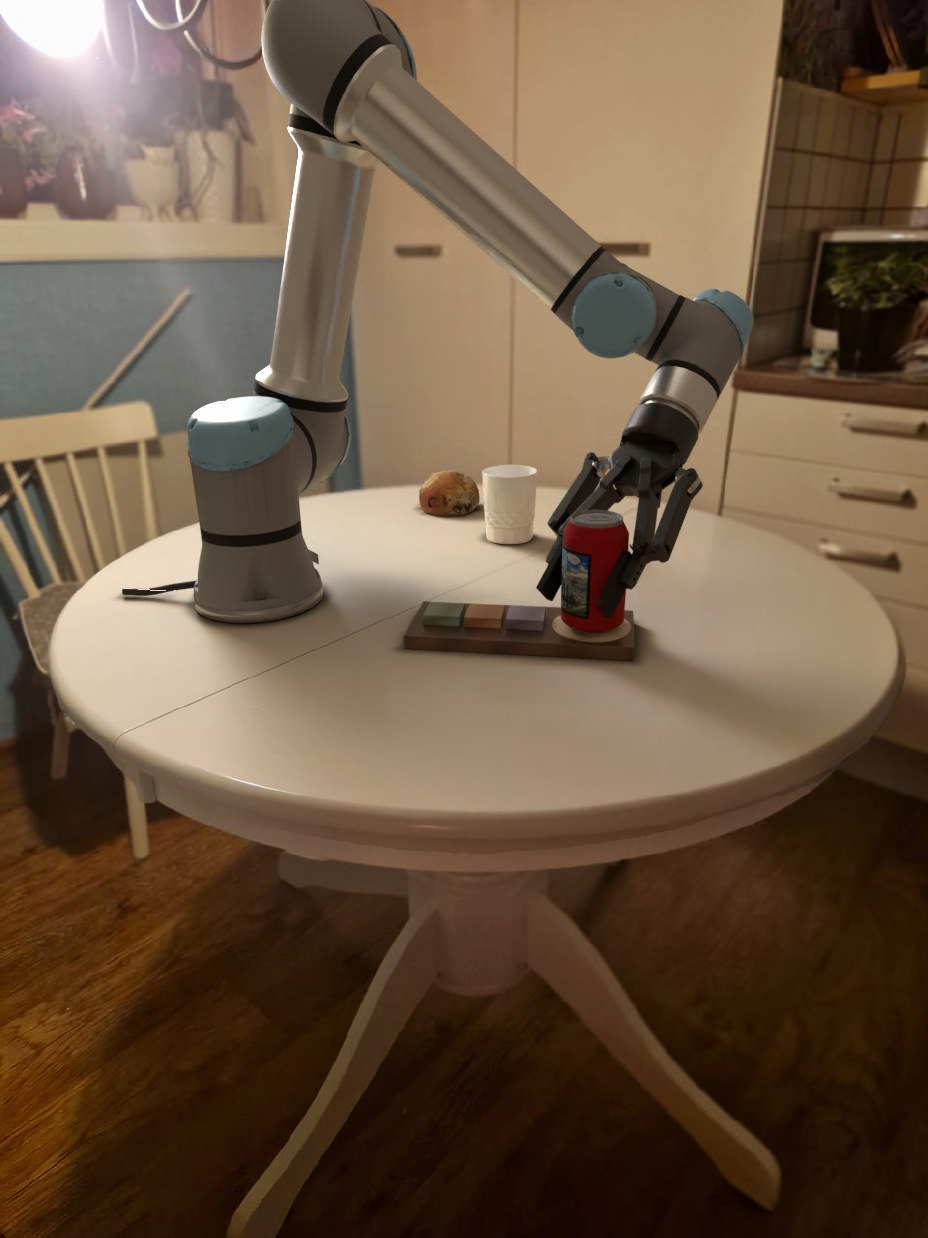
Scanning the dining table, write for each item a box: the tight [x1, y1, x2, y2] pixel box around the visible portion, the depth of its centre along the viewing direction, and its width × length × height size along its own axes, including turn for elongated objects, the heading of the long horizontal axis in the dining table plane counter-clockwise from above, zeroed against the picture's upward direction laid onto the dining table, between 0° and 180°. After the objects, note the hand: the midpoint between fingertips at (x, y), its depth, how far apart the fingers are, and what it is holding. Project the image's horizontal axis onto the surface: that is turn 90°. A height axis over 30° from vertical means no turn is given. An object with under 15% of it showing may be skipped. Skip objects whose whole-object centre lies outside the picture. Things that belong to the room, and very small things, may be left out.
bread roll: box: [418, 469, 481, 517], centre depth 142 cm, size 10×10×8 cm
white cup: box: [481, 464, 538, 545], centre depth 125 cm, size 8×8×10 cm
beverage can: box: [560, 510, 630, 634], centre depth 90 cm, size 7×7×12 cm
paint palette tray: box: [403, 600, 636, 662], centre depth 94 cm, size 24×10×3 cm, turn 81°
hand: (573, 602), depth 89 cm, fingers closed on beverage can, 7 cm apart
